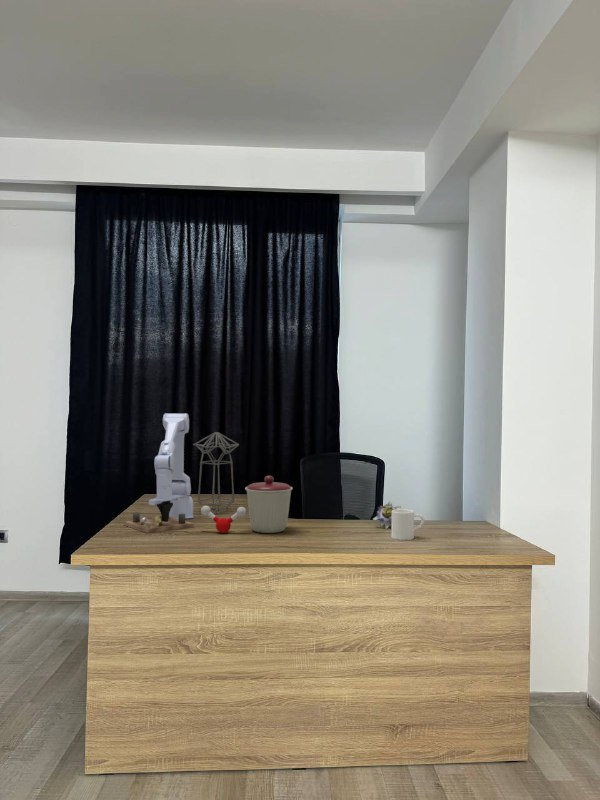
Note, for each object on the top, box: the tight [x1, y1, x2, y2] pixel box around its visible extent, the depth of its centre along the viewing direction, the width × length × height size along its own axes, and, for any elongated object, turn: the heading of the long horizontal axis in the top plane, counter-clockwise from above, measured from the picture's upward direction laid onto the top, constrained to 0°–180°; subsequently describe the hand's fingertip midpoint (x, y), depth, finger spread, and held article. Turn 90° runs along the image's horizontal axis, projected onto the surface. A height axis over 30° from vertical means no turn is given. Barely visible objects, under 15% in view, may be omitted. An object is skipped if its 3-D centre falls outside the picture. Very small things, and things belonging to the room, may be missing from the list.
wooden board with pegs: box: [123, 512, 195, 534], centre depth 287 cm, size 20×20×5 cm
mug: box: [390, 508, 426, 541], centre depth 267 cm, size 8×12×10 cm, turn 82°
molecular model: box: [200, 505, 248, 534], centre depth 275 cm, size 18×6×10 cm, turn 79°
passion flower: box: [372, 501, 402, 530], centre depth 288 cm, size 11×11×12 cm
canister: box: [244, 475, 293, 534], centre depth 279 cm, size 18×18×21 cm
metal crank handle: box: [140, 515, 162, 526], centre depth 282 cm, size 9×3×3 cm, turn 72°
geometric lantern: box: [192, 431, 240, 514], centre depth 322 cm, size 16×16×35 cm
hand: (164, 521), depth 281 cm, fingers closed, pressing on metal crank handle
